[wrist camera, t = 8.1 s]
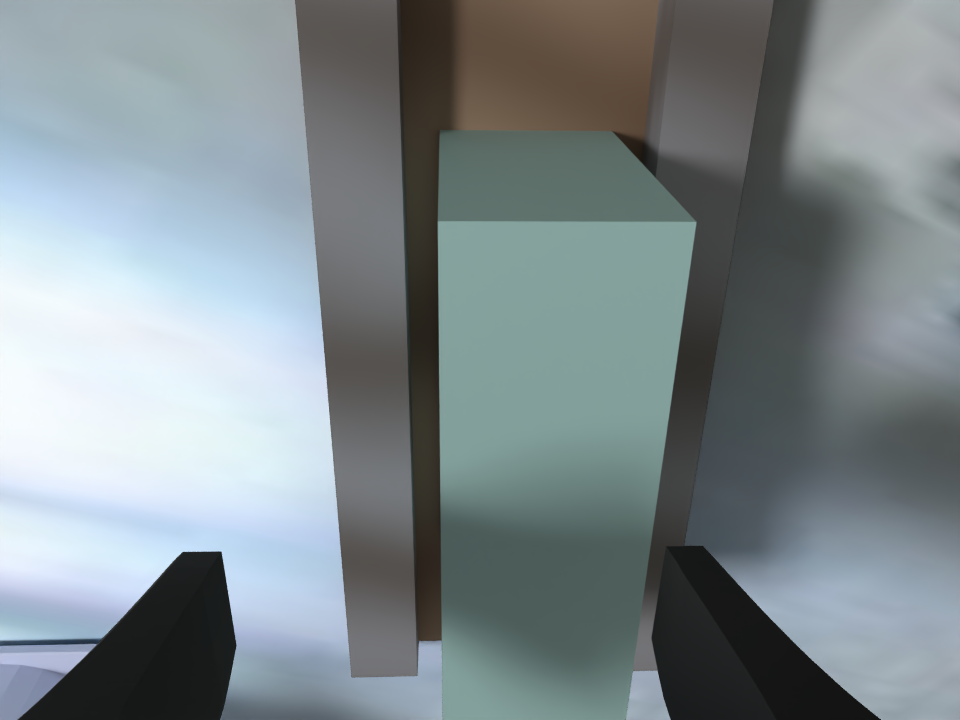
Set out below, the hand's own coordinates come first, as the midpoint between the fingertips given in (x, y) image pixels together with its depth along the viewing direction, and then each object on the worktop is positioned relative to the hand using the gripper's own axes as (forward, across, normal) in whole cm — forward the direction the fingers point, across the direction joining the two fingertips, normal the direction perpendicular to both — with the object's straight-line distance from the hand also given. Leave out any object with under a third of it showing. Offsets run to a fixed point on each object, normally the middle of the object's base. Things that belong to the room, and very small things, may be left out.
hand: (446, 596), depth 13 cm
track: (+9, -2, 0) cm, 9 cm away
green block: (+9, -2, 0) cm, 9 cm away
